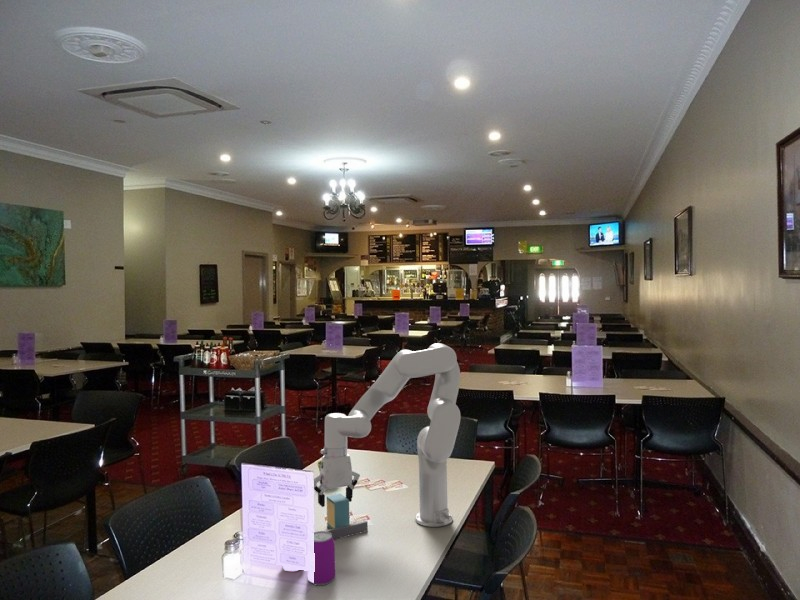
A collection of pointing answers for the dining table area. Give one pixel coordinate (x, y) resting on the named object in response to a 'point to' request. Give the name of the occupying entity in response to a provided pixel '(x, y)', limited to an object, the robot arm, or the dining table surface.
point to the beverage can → (324, 557)
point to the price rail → (348, 529)
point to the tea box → (337, 511)
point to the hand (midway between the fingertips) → (335, 502)
